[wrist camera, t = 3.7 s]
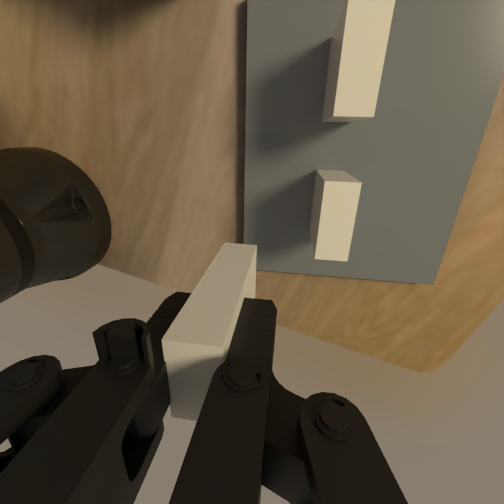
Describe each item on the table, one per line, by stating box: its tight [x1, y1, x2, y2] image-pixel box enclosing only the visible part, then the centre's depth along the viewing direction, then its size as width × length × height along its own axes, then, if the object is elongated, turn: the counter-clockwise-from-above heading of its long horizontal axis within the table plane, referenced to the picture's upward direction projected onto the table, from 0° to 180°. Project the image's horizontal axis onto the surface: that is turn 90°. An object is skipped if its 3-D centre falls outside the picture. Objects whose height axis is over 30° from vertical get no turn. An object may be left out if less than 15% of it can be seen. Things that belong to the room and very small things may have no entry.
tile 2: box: [309, 170, 362, 262], centre depth 23 cm, size 6×3×7 cm, turn 178°
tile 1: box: [322, 0, 395, 122], centre depth 19 cm, size 6×3×7 cm, turn 178°
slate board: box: [244, 0, 504, 285], centre depth 25 cm, size 24×20×1 cm
